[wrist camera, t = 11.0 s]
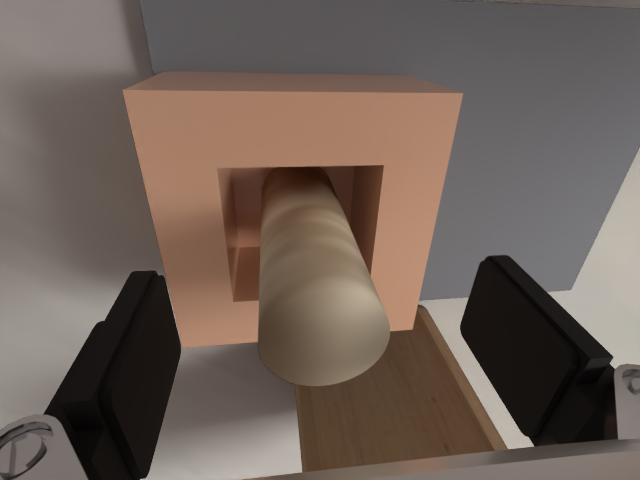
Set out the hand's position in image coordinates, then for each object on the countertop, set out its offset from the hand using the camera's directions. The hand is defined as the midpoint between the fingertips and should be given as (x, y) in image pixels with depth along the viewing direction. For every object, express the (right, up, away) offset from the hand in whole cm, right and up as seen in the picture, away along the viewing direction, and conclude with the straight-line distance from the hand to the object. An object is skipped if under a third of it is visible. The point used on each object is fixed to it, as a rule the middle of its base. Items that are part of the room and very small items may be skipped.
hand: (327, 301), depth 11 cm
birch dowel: (-1, +4, +7) cm, 9 cm away
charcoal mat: (+5, +6, +10) cm, 13 cm away
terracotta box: (-2, +5, +8) cm, 10 cm away
